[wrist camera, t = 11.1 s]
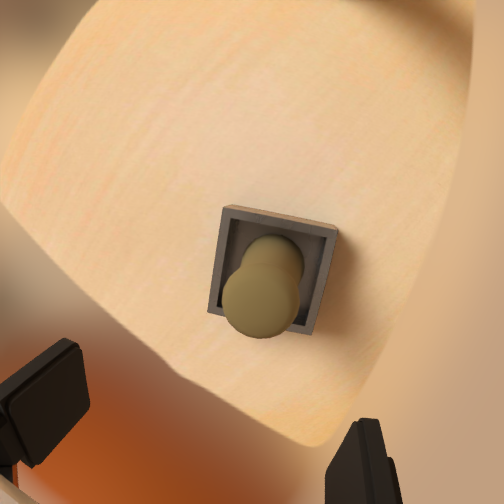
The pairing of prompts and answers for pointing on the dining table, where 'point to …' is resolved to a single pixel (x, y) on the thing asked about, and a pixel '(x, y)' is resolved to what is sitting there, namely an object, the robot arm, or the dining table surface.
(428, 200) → the dining table surface
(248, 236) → the socket
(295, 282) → the cork
